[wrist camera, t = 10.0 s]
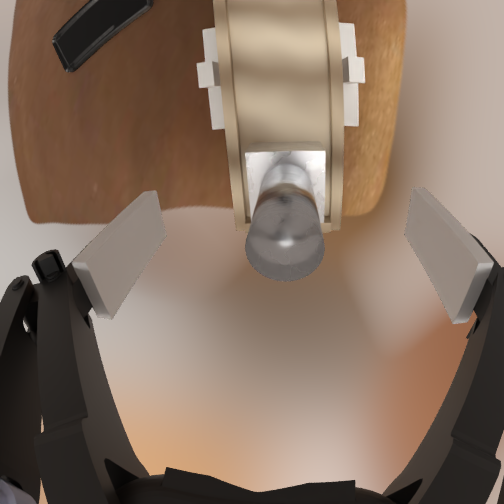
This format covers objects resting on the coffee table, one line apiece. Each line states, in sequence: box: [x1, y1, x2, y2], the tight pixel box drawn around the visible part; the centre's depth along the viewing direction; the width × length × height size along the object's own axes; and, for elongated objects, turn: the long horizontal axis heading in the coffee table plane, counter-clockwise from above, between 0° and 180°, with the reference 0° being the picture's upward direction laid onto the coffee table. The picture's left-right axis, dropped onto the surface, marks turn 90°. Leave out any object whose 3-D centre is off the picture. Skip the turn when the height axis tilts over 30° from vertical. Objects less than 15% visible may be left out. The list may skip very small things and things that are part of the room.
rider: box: [245, 141, 325, 281], centre depth 20 cm, size 6×6×13 cm
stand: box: [197, 23, 365, 130], centre depth 26 cm, size 20×16×7 cm
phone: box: [52, 0, 153, 72], centre depth 23 cm, size 8×1×15 cm
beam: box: [213, 0, 344, 233], centre depth 21 cm, size 30×11×5 cm, turn 4°
